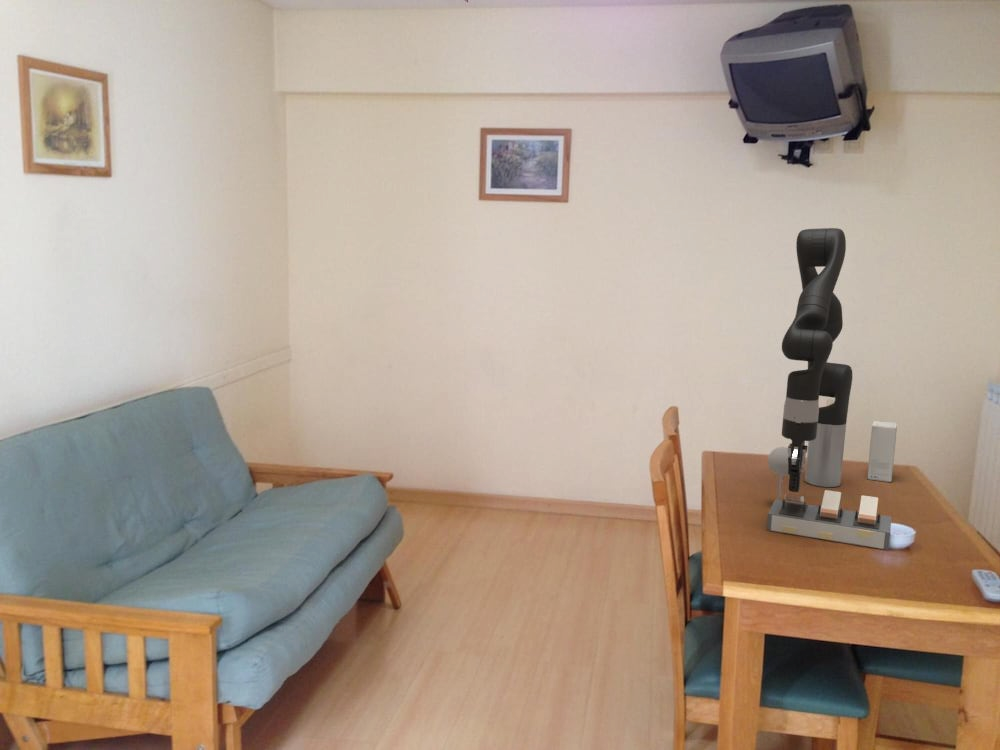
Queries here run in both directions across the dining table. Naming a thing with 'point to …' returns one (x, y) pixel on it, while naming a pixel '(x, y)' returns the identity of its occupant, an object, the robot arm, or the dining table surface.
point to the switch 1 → (794, 498)
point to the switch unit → (828, 525)
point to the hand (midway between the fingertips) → (793, 491)
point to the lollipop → (779, 464)
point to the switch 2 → (830, 504)
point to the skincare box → (882, 451)
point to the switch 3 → (868, 509)
